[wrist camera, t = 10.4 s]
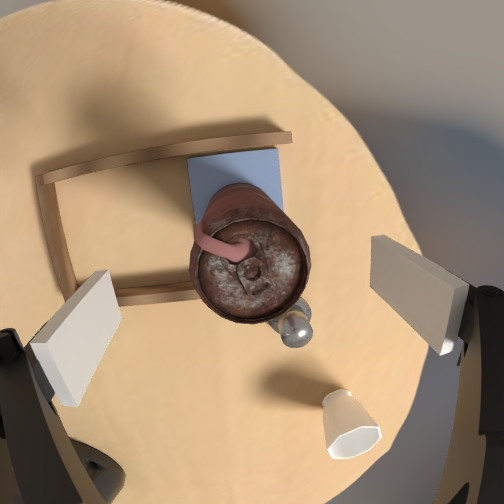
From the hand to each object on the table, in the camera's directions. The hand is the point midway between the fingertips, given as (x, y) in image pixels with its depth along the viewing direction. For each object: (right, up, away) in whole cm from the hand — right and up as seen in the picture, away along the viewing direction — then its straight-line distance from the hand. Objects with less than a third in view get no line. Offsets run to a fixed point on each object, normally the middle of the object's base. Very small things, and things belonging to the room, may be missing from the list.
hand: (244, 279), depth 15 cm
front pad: (-1, +5, +14) cm, 14 cm away
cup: (+13, -19, +23) cm, 33 cm away
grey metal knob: (+4, -5, +17) cm, 18 cm away
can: (-1, +5, +13) cm, 14 cm away
